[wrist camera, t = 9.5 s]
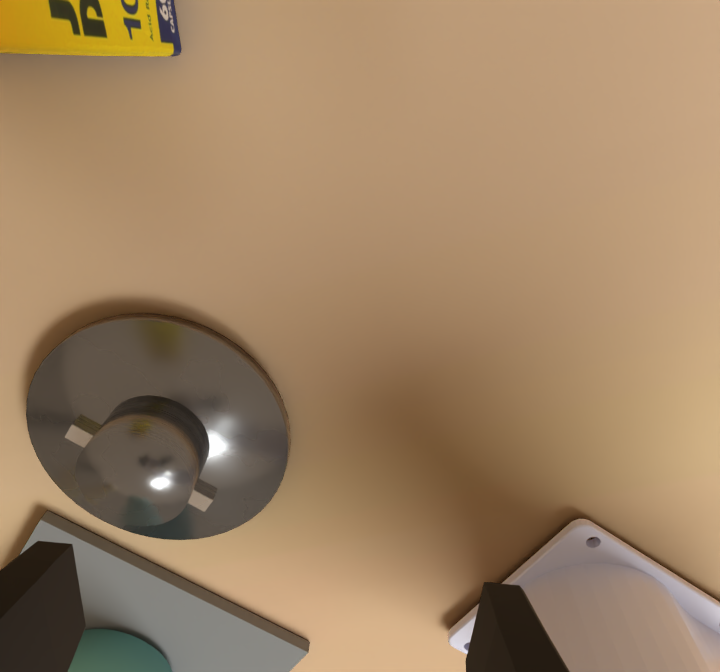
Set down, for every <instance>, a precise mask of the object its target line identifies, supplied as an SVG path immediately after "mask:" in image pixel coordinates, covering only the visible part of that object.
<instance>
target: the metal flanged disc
mask: <svg viewBox="0 0 720 672" xmlns="http://www.w3.org/2000/svg"><path fill="white" fill-rule="evenodd" d="M26 416H27V426H28V431H29V435H30V439H31V443H32V445H33V447H34V450H35V452H36V455H37V457H38V459H39V460H40V462H41V464H42V466H43V467H44V469H45V470H46V472H47V473H48V475H49V476H50V477H51V479H52V480H53V481H54V482H55V484H56V485H57V486H58V487H59V488H60V489H61V490H62V491H63V492H64V493H65V494H66V495H67V496H68V497H69V498H71V499H72V500H73V501H74V502H75V503H76V504H78V505H79V506H80V507H82V508H83V509H85V510H86V511H87V512H89V513H90V514H92V515H94V516H96V517H97V518H99V519H101V520H103V521H104V522H107V523H109V524H111V525H113V526H116V527H118V528H120V529H123V530H126V531H129V532H132V533H135V534H139V535H144V536H148V537H153V538H160V539H173V540H187V539H199V538H205V537H211V536H214V535H218V534H221V533H225V532H227V531H229V530H232V529H234V528H236V527H238V526H240V525H242V524H244V523H245V522H247V521H249V520H250V519H251V518H253V517H254V516H255V515H257V514H258V513H259V512H260V511H261V510H262V509H263V508H264V507H265V506H266V505H267V504H268V503H269V502H270V500H271V499H272V497H273V496H274V494H275V493H276V492H277V490H278V488H279V485H280V483H281V481H282V479H283V476H284V472H285V469H286V465H287V461H288V457H289V450H290V426H289V421H288V416H287V412H286V410H285V407H284V404H283V401H282V399H281V397H280V395H279V393H278V391H277V389H276V387H275V385H274V384H273V382H272V381H271V379H270V378H269V377H268V375H267V374H266V372H265V371H264V370H263V369H262V368H261V367H260V366H259V364H258V363H257V362H256V361H255V360H254V359H253V358H252V357H251V356H250V355H248V354H247V353H246V352H245V351H244V350H243V349H242V348H240V347H239V346H237V345H236V344H235V343H233V342H232V341H230V340H229V339H227V338H226V337H224V336H222V335H220V334H218V333H217V332H215V331H213V330H211V329H209V328H207V327H204V326H202V325H199V324H197V323H194V322H191V321H188V320H184V319H180V318H177V317H172V316H166V315H159V314H141V313H136V314H125V315H118V316H113V317H109V318H105V319H101V320H99V321H96V322H93V323H91V324H88V325H86V326H85V327H83V328H81V329H79V330H77V331H76V332H74V333H73V334H71V335H70V336H69V337H68V338H66V339H65V340H64V341H63V342H61V343H60V344H59V345H58V346H57V347H56V348H55V349H53V351H52V352H51V353H50V354H49V355H48V356H47V357H46V358H45V359H44V360H43V362H42V363H41V365H40V367H39V368H38V370H37V371H36V373H35V375H34V378H33V380H32V383H31V385H30V389H29V393H28V398H27V409H26Z"/></svg>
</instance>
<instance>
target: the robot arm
mask: <svg viewBox="0 0 720 672" xmlns="http://www.w3.org/2000/svg"><path fill="white" fill-rule="evenodd" d="M591 537H595V538H594V539H592V540H587V539H589V538H591ZM85 627H86V624H85V618H84V611H83V605H82V599H81V593H80V587H79V581H78V575H77V569H76V563H75V557H74V551H73V545H72V544H68V543H57V542H46V541H37V542H36V543H34V544H33V545H32V546H31V547H29V548H28V549H27V550H25V551H24V552H23V553H22V554H20V555H19V556H18V557H17V558H15V559H14V560H13V561H12V562H10V563H9V564H8V565H7V566H5V567H4V568H3V569H2V570H1V571H0V672H68V669H69V667H70V665H71V662H72V660H73V657H74V655H75V652H76V650H77V647H78V645H79V642H80V640H81V637H82V634H83V632H84V629H85ZM448 642H449V644H450V645H451V646H452V647H454V648H456V649H458V650H460V651H461V652H463V653H465V654H467V657H466V672H720V602H719V601H717V600H715V599H714V598H712V597H711V596H709V595H707V594H706V593H704V592H703V591H701V590H699V589H698V588H696V587H695V586H693V585H692V584H690V583H688V582H687V581H685V580H684V579H682V578H680V577H679V576H677V575H676V574H674V573H672V572H671V571H669V570H668V569H666V568H664V567H663V566H661V565H660V564H658V563H656V562H655V561H653V560H652V559H650V558H648V557H647V556H645V555H644V554H642V553H641V552H639V551H637V550H636V549H634V548H633V547H631V546H629V545H628V544H626V543H625V542H623V541H621V540H620V539H618V538H617V537H615V536H613V535H612V534H610V533H609V532H607V531H605V530H604V529H602V528H601V527H599V526H598V525H596V524H594V523H593V522H591V521H589V520H587V519H577V520H574V521H572V522H571V523H569V524H568V525H567V526H566V527H565V528H564V529H563V530H561V531H560V532H559V533H558V534H557V535H556V536H555V537H554V538H552V539H551V540H550V541H549V542H548V543H547V544H546V545H544V546H543V547H542V548H541V549H540V550H539V551H538V552H537V553H535V554H534V555H533V556H532V557H531V558H530V559H529V560H527V561H526V562H525V563H524V564H523V565H522V566H521V567H520V568H518V569H517V570H516V571H515V572H514V573H513V574H512V575H511V576H509V577H508V578H507V579H506V580H505V581H504V582H503V583H501V584H500V583H489V582H484V585H483V590H482V594H481V598H480V602H479V604H478V605H477V606H475V607H474V608H473V609H472V610H471V611H470V612H469V613H468V614H466V615H465V616H464V617H463V618H462V619H461V620H460V621H458V622H457V623H456V624H455V625H454V626H453V627H452V628H451V629H450V630H449V631H448Z"/></svg>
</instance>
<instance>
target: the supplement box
mask: <svg viewBox="0 0 720 672" xmlns="http://www.w3.org/2000/svg"><path fill="white" fill-rule="evenodd" d="M0 53H16V54H55V55H89V56H177V55H179V54H180V53H181V43H180V38H179V32H178V26H177V19H176V12H175V6H174V0H0Z"/></svg>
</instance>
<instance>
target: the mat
mask: <svg viewBox="0 0 720 672" xmlns="http://www.w3.org/2000/svg"><path fill="white" fill-rule="evenodd" d="M37 541H46V542H57V543H68V544H72V545H73V551H74V557H75V563H76V569H77V575H78V581H79V587H80V593H81V599H82V605H83V611H84V618H85V624H86V627H85V629H84V630H90V629H109V630H115V631H119V632H123V633H126V634H129V635H132V636H134V637H137V638H139V639H141V640H143V641H145V642H146V643H148V644H149V645H151V646H152V647H154V648H155V649H156V650H157V651H158V652H159V653H160V654H162V656H163V657H164V658H165V659H166V660H167V662H168V664H169V665H170V667H171V670H172V672H289V671H290V670H291V669H292V668H293V667H294V666H295V665H296V664H297V663H298V662H299V661H300V660H301V659H302V658H303V657H304V656H305V655H306V654H307V653H308V651H309V644H310V642H309V641H307V640H305V639H303V638H301V637H299V636H297V635H295V634H293V633H291V632H289V631H287V630H285V629H283V628H281V627H279V626H277V625H275V624H273V623H271V622H269V621H267V620H265V619H263V618H261V617H259V616H257V615H255V614H253V613H251V612H249V611H247V610H245V609H243V608H241V607H239V606H237V605H235V604H233V603H231V602H229V601H227V600H225V599H223V598H221V597H219V596H217V595H215V594H213V593H211V592H209V591H207V590H205V589H203V588H201V587H199V586H197V585H195V584H193V583H191V582H189V581H187V580H185V579H183V578H181V577H179V576H177V575H175V574H173V573H171V572H169V571H167V570H165V569H163V568H161V567H159V566H157V565H155V564H153V563H151V562H149V561H147V560H145V559H143V558H141V557H139V556H137V555H135V554H133V553H131V552H129V551H127V550H125V549H123V548H121V547H119V546H117V545H115V544H113V543H111V542H109V541H107V540H105V539H103V538H101V537H99V536H97V535H95V534H93V533H91V532H89V531H87V530H85V529H83V528H81V527H79V526H77V525H75V524H73V523H71V522H69V521H68V520H66V519H64V518H62V517H60V516H58V515H56V514H54V513H52V512H50V511H48V510H47V511H46V513H45V514H44V515H43V517H42V518H41V520H40V521H39V523H38V525H37V526H36V528H35V530H34V531H33V533H32V535H31V536H30V538H29V540H28V541H27V543H26V545H25V546H24V548H23V550H22V551H21V553H20V554H22V553H23V552H24V551H25V550H27V549H28V548H29V547H31V546H32V545H33V544H34V543H36V542H37Z"/></svg>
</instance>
